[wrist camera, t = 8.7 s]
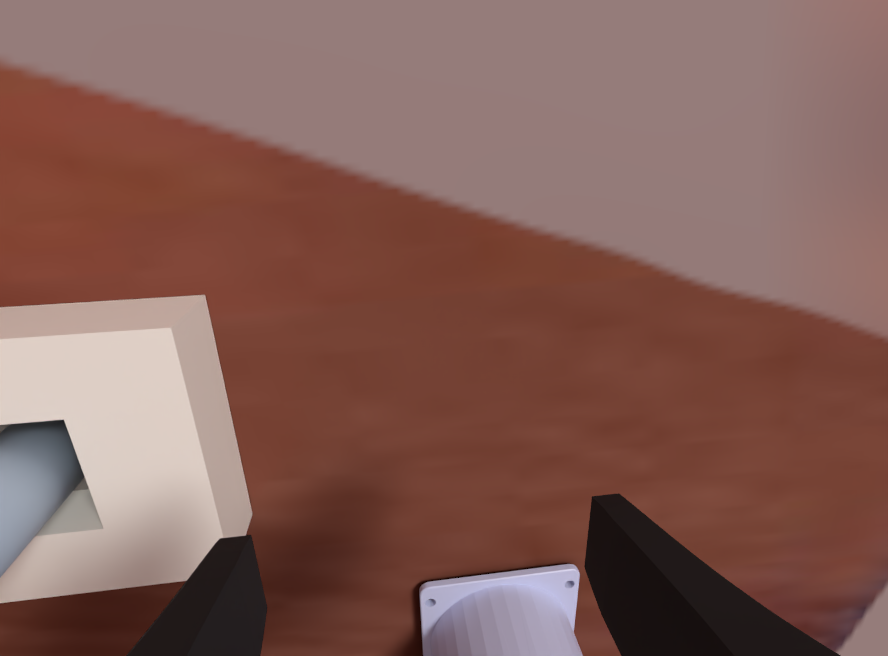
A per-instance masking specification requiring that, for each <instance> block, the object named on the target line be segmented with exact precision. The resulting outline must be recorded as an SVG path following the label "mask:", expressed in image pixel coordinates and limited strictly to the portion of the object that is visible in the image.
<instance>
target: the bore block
mask: <svg viewBox="0 0 888 656" xmlns="http://www.w3.org/2000/svg"><path fill="white" fill-rule="evenodd" d="M53 420H64V422H65V424H66V427H67V430H68V432H69V435H70V438H71V441H72V443H73V446H74V449H75V452H76V454H77V457H78V460H79V463H80V465H81V468H82V471H83V474H84V476H85V477H84V478H83V480H82V481H81V482H80V483H79V484H78V485H77V487H76V488H75V489H74V490H73V491H72V493H71V494H70V495H69V496H68V497H67V499H66V500H65V501H64V502H63V503H62V505H61V506H60V507H59V508H58V509H57V511H56V512H55V513H54V514H53V515H52V517H51V518H50V519H49V520H48V521H47V522H46V524H45V525H44V526H43V527H42V528H41V530H40V531H39V532H38V533H37V534H36V536H35V537H34V538H33V539H32V540H31V542H30V543H29V544H28V545H27V546H26V548H25V549H24V550H23V551H22V552H21V554H20V555H19V556H18V557H17V558H16V560H15V561H14V562H13V563H12V564H11V565H10V567H9V568H8V569H7V570H6V571H5V573H4V574H3V575H2V576H1V577H0V603H6V602H14V601H22V600H31V599H39V598H47V597H55V596H64V595H72V594H80V593H89V592H97V591H105V590H114V589H122V588H130V587H138V586H147V585H155V584H163V583H172V582H180V581H187V580H188V578H189V577H190V576H191V574H192V573H193V572H194V571H195V569H196V568H197V567H198V565H199V564H200V563H201V561H202V560H203V559H204V557H205V556H206V555H207V553H208V552H209V551H210V550H211V548H212V547H213V546H214V544H215V543H216V542H217V541H218V540H219V539H220V538H228V537H237V536H246V533H247V530H248V527H249V523H250V520H251V517H252V510H251V505H250V500H249V496H248V491H247V486H246V482H245V477H244V473H243V468H242V463H241V459H240V454H239V449H238V445H237V440H236V436H235V431H234V426H233V422H232V417H231V413H230V408H229V403H228V399H227V394H226V389H225V385H224V380H223V376H222V371H221V366H220V362H219V357H218V353H217V348H216V343H215V339H214V334H213V329H212V325H211V320H210V316H209V311H208V306H207V302H206V297H205V295H196V296H179V297H163V298H147V299H130V300H114V301H97V302H81V303H65V304H48V305H32V306H15V307H0V432H1V431H3V430H4V429H5V428H6V427H8V426H9V425H10V424H17V423H29V422H41V421H53Z"/></svg>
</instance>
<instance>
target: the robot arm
mask: <svg viewBox="0 0 888 656" xmlns="http://www.w3.org/2000/svg"><path fill="white" fill-rule="evenodd" d="M585 570H586V573H587V575H588V578H589V581H590V584H591V587H592V590H593V593H594V595H595V598H596V601H597V603H598V606H599V609H600V611H601V614H602V616H603V618H604V621H605V623H606V625H607V627H608V629H609V631H610V633H611V635H612V637H613V639H614V641H615V643H616V645H617V647H618V649H619V651H620V654H621V656H840V655H839V654H837V653H835V652H833V651H832V650H830V649H829V648H827V647H825V646H824V645H822V644H821V643H819V642H818V641H816V640H814V639H813V638H811V637H810V636H808V635H807V634H805V633H803V632H802V631H800V630H799V629H797V628H796V627H794V626H792V625H791V624H789V623H788V622H786V621H785V620H783V619H782V618H780V617H779V616H777V615H776V614H774V613H773V612H771V611H770V610H768V609H767V608H765V607H764V606H763V605H761V604H760V603H758V602H757V601H756V600H754V599H753V598H751V597H750V596H749V595H747V594H746V593H744V592H743V591H742V590H740V589H739V588H737V587H736V586H735V585H733V584H732V583H730V582H729V581H728V580H726V579H725V578H724V577H722V576H721V575H720V574H718V573H717V572H716V571H714V570H713V569H712V568H711V567H709V566H708V565H707V564H705V563H704V562H703V561H701V560H700V559H699V558H698V557H696V556H695V555H694V554H693V553H691V552H690V551H689V550H687V549H686V548H685V547H684V546H682V545H681V544H680V543H679V542H677V541H676V540H675V539H674V538H673V537H671V536H670V535H669V534H668V533H666V532H665V531H664V530H663V529H662V528H660V527H659V526H658V525H657V524H655V523H654V522H653V521H652V520H651V519H649V518H648V517H647V516H646V515H645V514H643V513H642V512H641V511H640V510H639V509H637V508H636V507H635V506H634V505H632V504H631V503H630V502H629V501H628V500H626V499H625V498H624V497H623V496H621V495H620V494H610V495H602V496H593V497H592V502H591V512H590V521H589V530H588V539H587V549H586V558H585ZM579 577H580V574H579V571H578V569H577V567H576V566H575V565H573V564H564V565H556V566H548V567H540V568H532V569H524V570H516V571H509V572H501V573H493V574H485V575H477V576H469V577H461V578H453V579H446V580H438V581H430V582H426V583H424V584H422V585H421V587H420V589H419V595H420V612H421V628H422V645H423V656H583V655H582V652H581V650H580V647H579V645H578V642H577V640H576V637H575V635H574V625H575V615H576V605H577V596H578V586H579ZM429 599H431V600H429ZM266 613H267V604H266V600H265V595H264V591H263V586H262V582H261V577H260V573H259V568H258V564H257V559H256V555H255V550H254V546H253V541H252V537H251V535H246V536H237V537H228V538H220V539H219V540H218V541H217V542H216V543H215V544H214V546H213V547H212V548H211V550H210V551H209V552H208V553H207V555H206V556H205V557H204V559H203V560H202V561H201V563H200V564H199V565H198V567H197V568H196V569H195V571H194V572H193V573H192V574H191V576H190V577H189V578H188V580H187V581H186V582H185V584H184V585H183V586H182V587H181V589H180V590H179V591H178V593H177V594H176V595H175V596H174V598H173V599H172V600H171V602H170V603H169V604H168V605H167V607H166V608H165V609H164V610H163V612H162V613H161V614H160V615H159V616H158V618H157V619H156V620H155V621H154V623H153V624H152V625H151V626H150V628H149V629H148V630H147V631H146V633H145V634H144V635H143V636H142V637H141V639H140V640H139V641H138V642H137V644H136V645H135V646H134V647H133V648H132V650H131V651H130V652H129V653H128V654H127V655H126V656H260V654H261V648H262V641H263V634H264V627H265V620H266Z"/></svg>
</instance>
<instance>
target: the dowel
mask: <svg viewBox="0 0 888 656" xmlns="http://www.w3.org/2000/svg"><path fill="white" fill-rule="evenodd" d="M84 477H85V476H84V474H83V471H82V468H81V465H80V463H79V460H78V457H77V454H76V452H75V449H74V446H73V443H72V441H71V438H70V435H69V432H68V430H67V427H66V424H65V422H64V420H53V421H41V422H29V423H17V424H10V425H9V426H8V427H6V428H5V429H4V430H3V431H1V432H0V577H1V576H2V575H3V574H4V573H5V571H6V570H7V569H8V568H9V567H10V565H11V564H12V563H13V562H14V561H15V560H16V558H17V557H18V556H19V555H20V554H21V552H22V551H23V550H24V549H25V548H26V546H27V545H28V544H29V543H30V542H31V540H32V539H33V538H34V537H35V536H36V534H37V533H38V532H39V531H40V530H41V528H42V527H43V526H44V525H45V524H46V522H47V521H48V520H49V519H50V518H51V517H52V515H53V514H54V513H55V512H56V511H57V509H58V508H59V507H60V506H61V505H62V503H63V502H64V501H65V500H66V499H67V497H68V496H69V495H70V494H71V493H72V491H73V490H74V489H75V488H76V487H77V485H78V484H79V483H80V482H81V481H82V480H83V478H84Z"/></svg>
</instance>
